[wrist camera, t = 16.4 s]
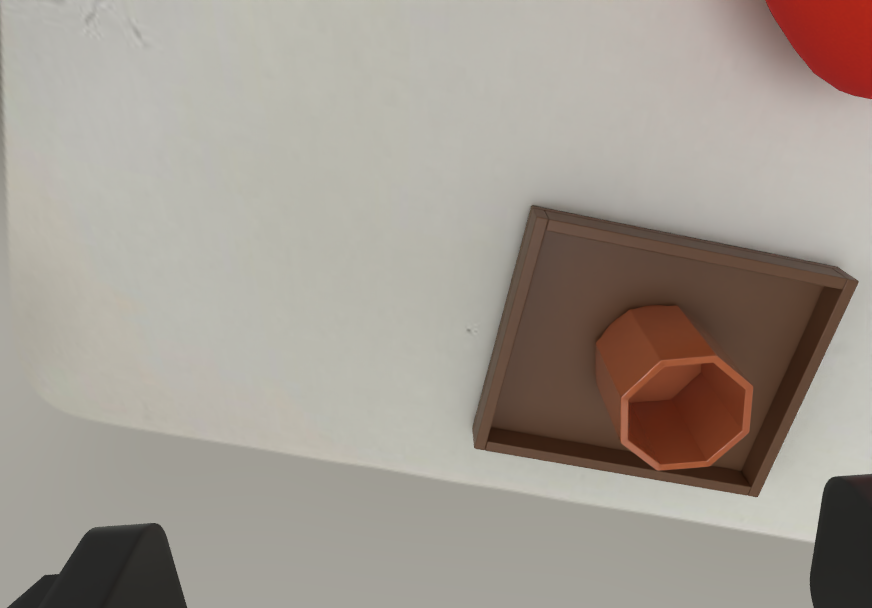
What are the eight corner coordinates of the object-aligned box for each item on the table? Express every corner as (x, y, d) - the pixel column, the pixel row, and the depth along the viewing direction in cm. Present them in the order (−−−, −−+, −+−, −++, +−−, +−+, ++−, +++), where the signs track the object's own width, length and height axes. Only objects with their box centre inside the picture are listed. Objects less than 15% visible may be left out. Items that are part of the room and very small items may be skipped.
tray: (472, 428, 41) (473, 448, 39) (531, 204, 36) (536, 216, 34) (743, 475, 42) (757, 497, 40) (838, 267, 37) (859, 281, 35)
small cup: (594, 407, 40) (620, 473, 34) (593, 309, 37) (621, 363, 32) (703, 398, 39) (746, 463, 34) (708, 298, 37) (757, 352, 32)
